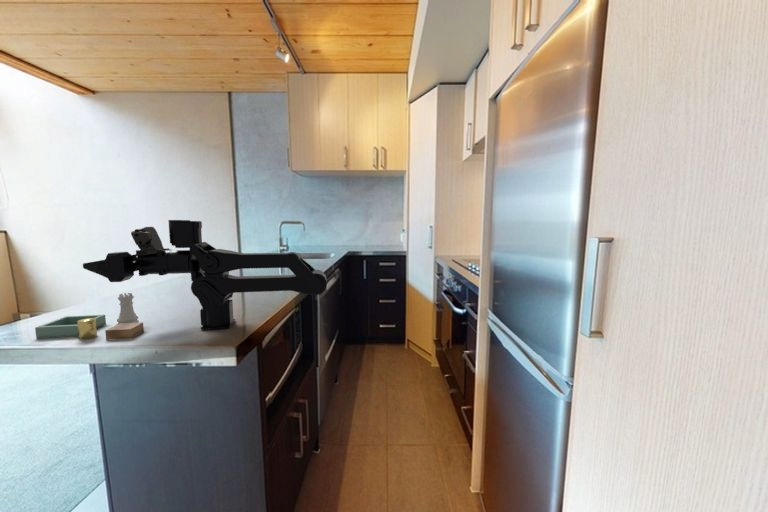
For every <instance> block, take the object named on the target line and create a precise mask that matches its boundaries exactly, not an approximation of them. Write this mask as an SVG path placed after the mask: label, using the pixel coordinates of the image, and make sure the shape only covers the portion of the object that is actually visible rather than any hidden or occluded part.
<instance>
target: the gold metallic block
mask: <svg viewBox="0 0 768 512" xmlns="http://www.w3.org/2000/svg"><path fill="white" fill-rule="evenodd" d="M77 323H78V333H79V336H78V340H80V339H85V340H90V338H91V339H94V338H97V337H98V330H97V329H98V328H97V329H96V319H95V318H88V319H82V320H79V321H77Z"/></svg>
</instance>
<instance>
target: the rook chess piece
mask: <svg viewBox="0 0 768 512" xmlns="http://www.w3.org/2000/svg"><path fill="white" fill-rule="evenodd" d="M134 298H135V296H134V295H133V293H132V292H128V293H126V292H124V293H120V294H119V295H118V297H117V299H118V301H119V306H120V312H119V315H118V318H117V319H116V322H117V324H119V323H137V322H140V320H138V319H139V317H138V315H137V313H135V310H134V306H133V304H134V301H133V299H134Z"/></svg>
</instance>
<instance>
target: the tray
mask: <svg viewBox="0 0 768 512" xmlns="http://www.w3.org/2000/svg"><path fill="white" fill-rule="evenodd" d="M88 318H95V319H96V329H99V328H101V327H102V326H105V325H107V320H106V314H91V315H90V314H87V315H86V314H85V315H67V316H62V317H60V318H57V319H55V320H52V321H49V322H47V323H44V324H42V325H38V326H35V327H34V329H35V338H36V339H47V338H48V339H50V338H51V339H52V338H68V337H70V338H71V337H79V333H78V323H77V321H79V320H82V319H88Z"/></svg>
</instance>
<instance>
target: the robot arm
mask: <svg viewBox="0 0 768 512" xmlns="http://www.w3.org/2000/svg"><path fill="white" fill-rule="evenodd" d="M202 228H203V222H202V221H201V220H190V219H189V220H188V219H185V220H183V219H168V234H169V244H171V246H172V247H175V248H176V250H175V249H174V250H173V249H170V248H168V247H167V248H165V247H164V246H163V242H162V239H161V238H160V236H159V233H158V232H157V231H158V230H157V229H156V228H155V227H154V226H145V227H141V228H138V229H137V228H136V229H134V230H132V231H130V235H131V237H132V239H133V241H134V243H135V245H136V246H137V247H138V249H136V250H135V254H132V253H130V252H128V251H116V252H110V253H107V254H106V256H105V258H104V259H101V260H94V261H90V262H84V263H82V268H83V269H84V270H86V271H89V272H92V273H94V274H97V275H99V276H102V277H103V278H106V279H107V280H108V281H109V282H110V283H122V282H124V281H128V280H130V279H132V278H133V276H135V272H138V276H139V277H140V276H141V277H143V276H147V275H158V276H166V275H173V274H174V275H175V274H178V275H179V274H190V279H191V286H190V291H191V292H192V294H193V296H194V297H196V299H197V300H198V301H199V303H200V306H201V307H202V308H201V309H200V310H199V311H200V312H199V314H200V316H199V317H200V325H201V327H200V330H201V331H203V330H204V331H206V330H207V331H208V330H220V329H222V330H223V329H230V328H231V326H232V325H233V324H235V322H236V318H234V307H233V306H234V305H233V304H234V303H233V299H232V298H233V295H234V293H263V292H264V293H266V292H288V291H289V292H290V291H292V292H295V293H299V294H304V295H309V296H319V295H321V294H322V293H324V292H325V291H326V289H327V287H328V286H327V285H328V281H327V276H326V273H324V272H323V271H322V270H320V269H315V268H314V267H313V266H312V265H311V264H310V263H308V262H307V261H306V260H305V259H304V258H302V256H300V254H298V253H297V252H296V251H290V252H257V253H256V252H249V253H247V252H238V251H235V250H230V249H229V250H227V249H223V248H216V247H215V246H212V245H211V244H209V242H206V241H203V239H202V238H203V236H202ZM188 248H189V249H188ZM181 249H182V250H181ZM282 268H284V269H288V270H289V271H291V273H293V274H282V275H275V274H274V275H245V276H243V275H241V276H240V275H239V276H237V275H236V276H235V275H232V274H230V272H233V271H236V270H242V269H282Z"/></svg>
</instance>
